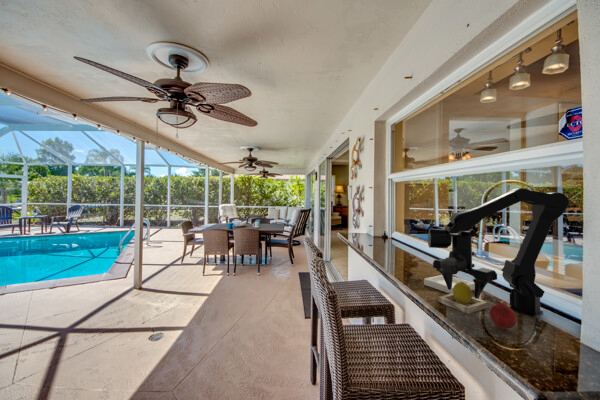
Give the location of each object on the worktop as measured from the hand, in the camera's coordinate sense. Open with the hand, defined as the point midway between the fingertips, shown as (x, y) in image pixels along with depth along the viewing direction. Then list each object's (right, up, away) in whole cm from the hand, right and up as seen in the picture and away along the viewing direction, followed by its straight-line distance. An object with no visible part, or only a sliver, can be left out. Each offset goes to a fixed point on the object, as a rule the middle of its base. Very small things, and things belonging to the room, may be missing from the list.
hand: (462, 293), depth 85 cm
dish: (+6, -4, +17) cm, 18 cm away
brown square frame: (0, -4, 0) cm, 4 cm away
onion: (+1, -4, -16) cm, 17 cm away
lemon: (0, -4, 0) cm, 4 cm away
